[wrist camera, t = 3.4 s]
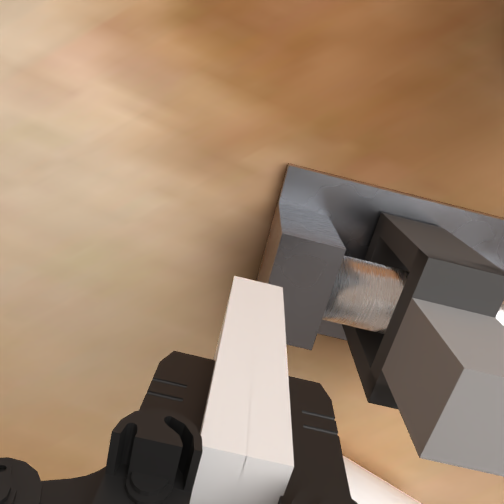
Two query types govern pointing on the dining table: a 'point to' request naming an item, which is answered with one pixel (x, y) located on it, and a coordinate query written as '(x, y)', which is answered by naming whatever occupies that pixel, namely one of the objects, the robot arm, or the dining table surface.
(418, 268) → the collar
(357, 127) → the dining table surface
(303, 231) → the pipe rig
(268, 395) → the robot arm
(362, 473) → the mug
